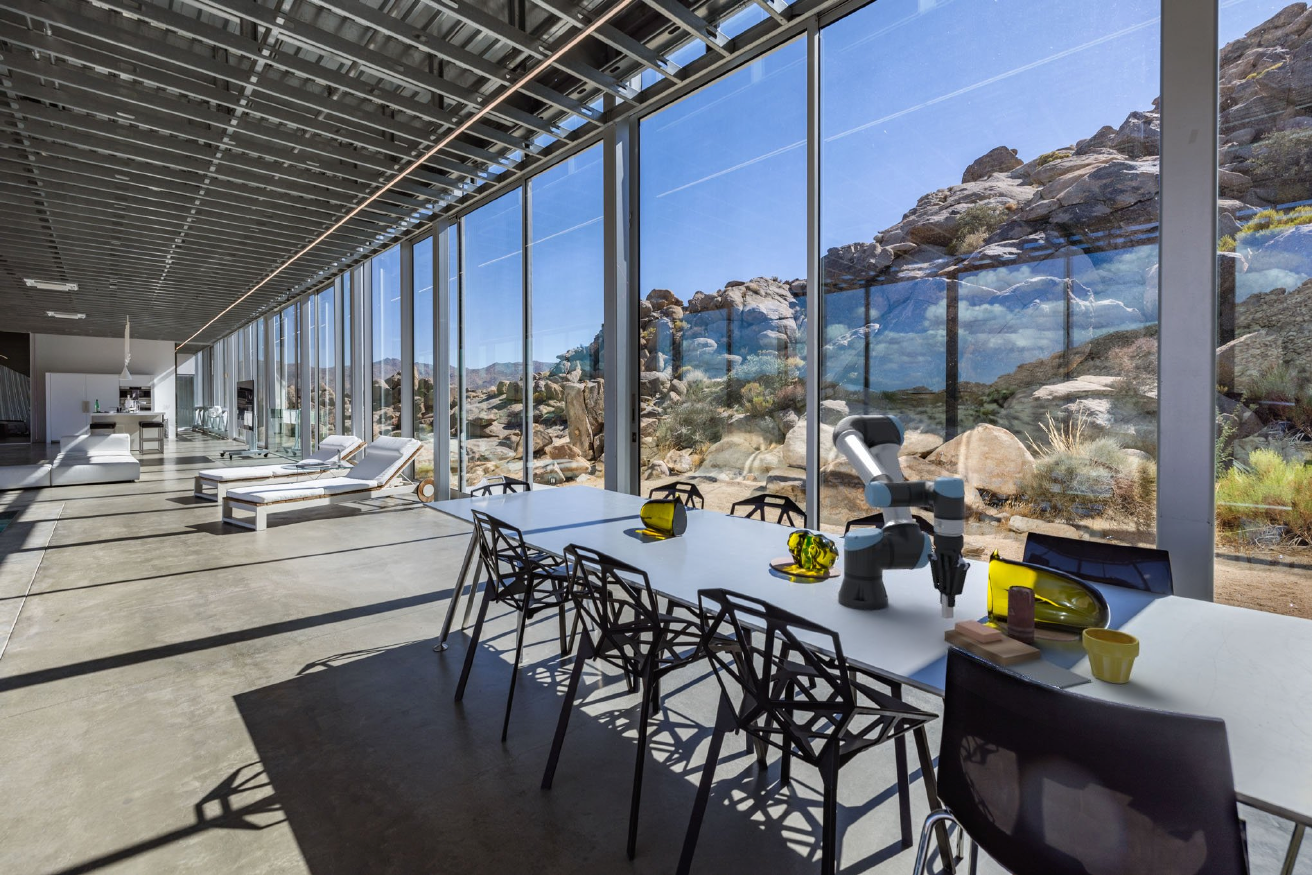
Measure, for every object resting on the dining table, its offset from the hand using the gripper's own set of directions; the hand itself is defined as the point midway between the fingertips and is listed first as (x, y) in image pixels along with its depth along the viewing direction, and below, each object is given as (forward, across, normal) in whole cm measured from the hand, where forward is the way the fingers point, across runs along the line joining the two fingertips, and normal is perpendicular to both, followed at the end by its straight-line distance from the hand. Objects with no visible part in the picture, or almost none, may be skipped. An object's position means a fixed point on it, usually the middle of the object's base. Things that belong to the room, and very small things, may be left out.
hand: (947, 617), depth 164 cm
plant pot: (+4, +35, +12) cm, 37 cm away
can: (+4, +12, +13) cm, 18 cm away
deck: (+4, +14, 0) cm, 14 cm away
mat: (+4, +29, 0) cm, 29 cm away
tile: (+1, +10, 0) cm, 10 cm away
